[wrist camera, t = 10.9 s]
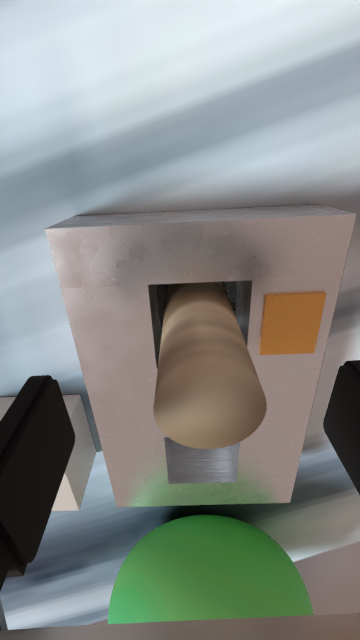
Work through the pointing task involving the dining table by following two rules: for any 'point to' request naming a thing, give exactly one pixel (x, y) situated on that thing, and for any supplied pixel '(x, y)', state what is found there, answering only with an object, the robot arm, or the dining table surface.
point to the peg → (205, 371)
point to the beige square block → (79, 459)
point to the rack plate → (252, 316)
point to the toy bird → (207, 574)
